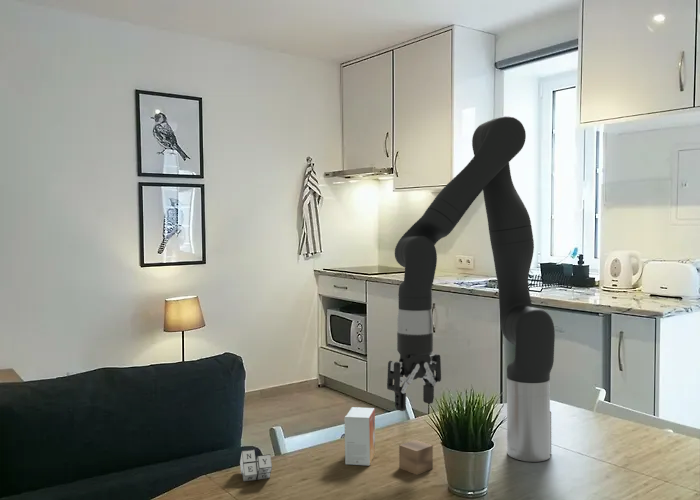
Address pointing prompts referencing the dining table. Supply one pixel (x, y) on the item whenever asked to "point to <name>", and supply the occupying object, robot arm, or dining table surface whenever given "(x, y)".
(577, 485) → the dining table surface
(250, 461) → the building blocks
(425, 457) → the walnut cube
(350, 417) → the small box
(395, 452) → the dining table surface
